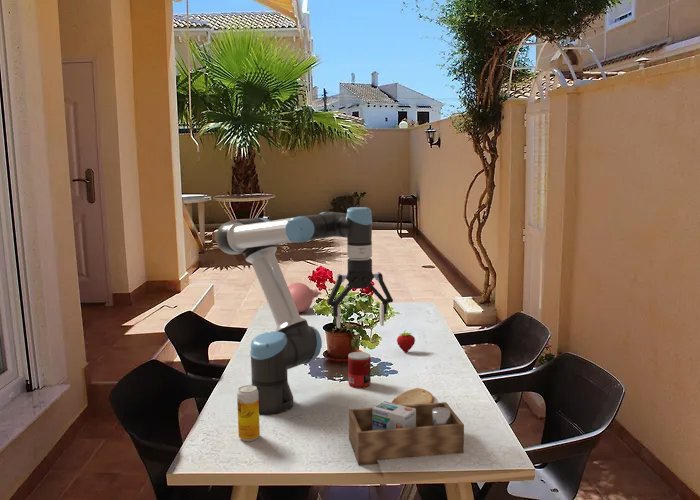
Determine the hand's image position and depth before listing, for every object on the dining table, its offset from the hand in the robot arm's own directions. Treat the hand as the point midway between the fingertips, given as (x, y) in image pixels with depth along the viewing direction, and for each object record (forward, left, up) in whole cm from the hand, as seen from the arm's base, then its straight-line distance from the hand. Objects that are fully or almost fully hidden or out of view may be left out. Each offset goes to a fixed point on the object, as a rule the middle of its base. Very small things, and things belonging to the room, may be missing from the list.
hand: (360, 325), depth 198 cm
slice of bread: (+18, +4, -29) cm, 34 cm away
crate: (+8, -25, -29) cm, 39 cm away
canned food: (+4, +25, -29) cm, 38 cm away
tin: (+18, -25, -28) cm, 42 cm away
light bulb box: (+5, -25, -28) cm, 38 cm away
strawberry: (+29, +57, -29) cm, 70 cm away
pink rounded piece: (-7, +132, -29) cm, 135 cm away
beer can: (-35, -11, -29) cm, 47 cm away
